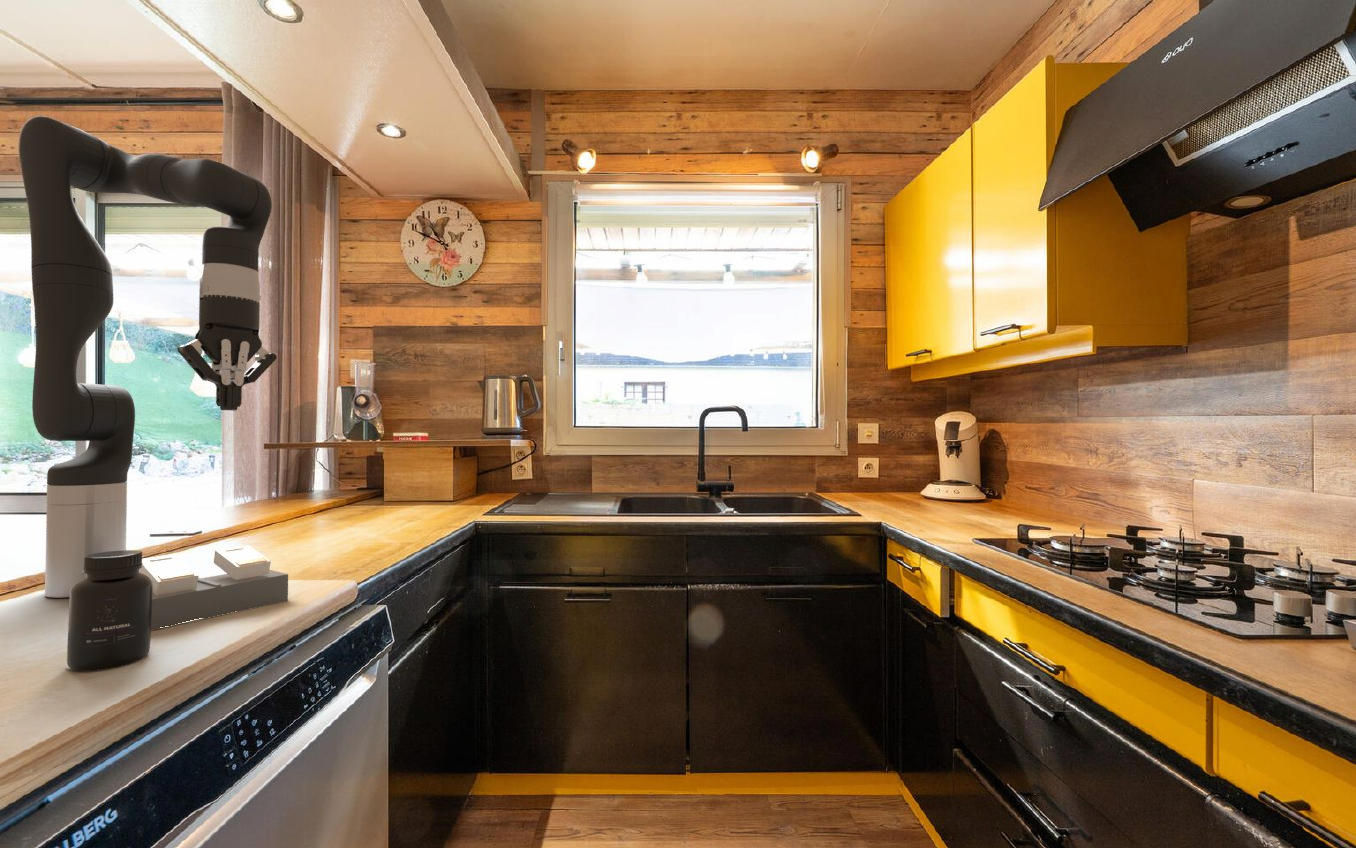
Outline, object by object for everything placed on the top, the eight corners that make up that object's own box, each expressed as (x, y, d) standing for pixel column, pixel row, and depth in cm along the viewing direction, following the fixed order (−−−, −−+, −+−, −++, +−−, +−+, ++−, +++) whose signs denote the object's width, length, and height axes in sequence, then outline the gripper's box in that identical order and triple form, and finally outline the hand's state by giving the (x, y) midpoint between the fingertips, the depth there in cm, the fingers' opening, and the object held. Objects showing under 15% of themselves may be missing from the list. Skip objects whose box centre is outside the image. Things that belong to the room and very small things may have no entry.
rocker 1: (136, 572, 82) (138, 558, 82) (175, 566, 86) (178, 552, 86) (156, 595, 79) (158, 581, 79) (196, 588, 83) (198, 574, 82)
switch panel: (112, 623, 81) (112, 591, 81) (261, 593, 96) (261, 566, 96) (136, 634, 76) (136, 600, 76) (287, 600, 92) (288, 572, 92)
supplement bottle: (99, 675, 63) (101, 561, 64) (49, 670, 65) (51, 558, 65) (166, 652, 70) (168, 549, 70) (120, 648, 72) (122, 546, 72)
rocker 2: (213, 562, 90) (215, 549, 90) (246, 557, 94) (248, 544, 94) (235, 580, 87) (237, 565, 86) (268, 574, 90) (270, 560, 90)
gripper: (265, 308, 101) (263, 412, 101) (167, 292, 90) (165, 409, 89) (288, 303, 97) (287, 411, 97) (189, 286, 86) (187, 408, 85)
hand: (228, 410), depth 93 cm, fingers closed
